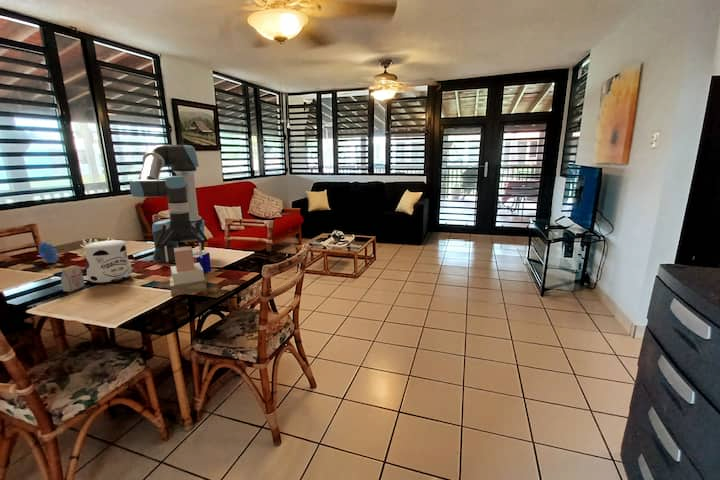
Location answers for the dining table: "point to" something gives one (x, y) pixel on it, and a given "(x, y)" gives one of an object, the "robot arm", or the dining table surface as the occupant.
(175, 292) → the tower base
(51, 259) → the blue thick disc
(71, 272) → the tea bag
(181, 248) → the terracotta block
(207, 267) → the puzzle cube
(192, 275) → the tower top
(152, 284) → the dining table surface
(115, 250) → the milk container
